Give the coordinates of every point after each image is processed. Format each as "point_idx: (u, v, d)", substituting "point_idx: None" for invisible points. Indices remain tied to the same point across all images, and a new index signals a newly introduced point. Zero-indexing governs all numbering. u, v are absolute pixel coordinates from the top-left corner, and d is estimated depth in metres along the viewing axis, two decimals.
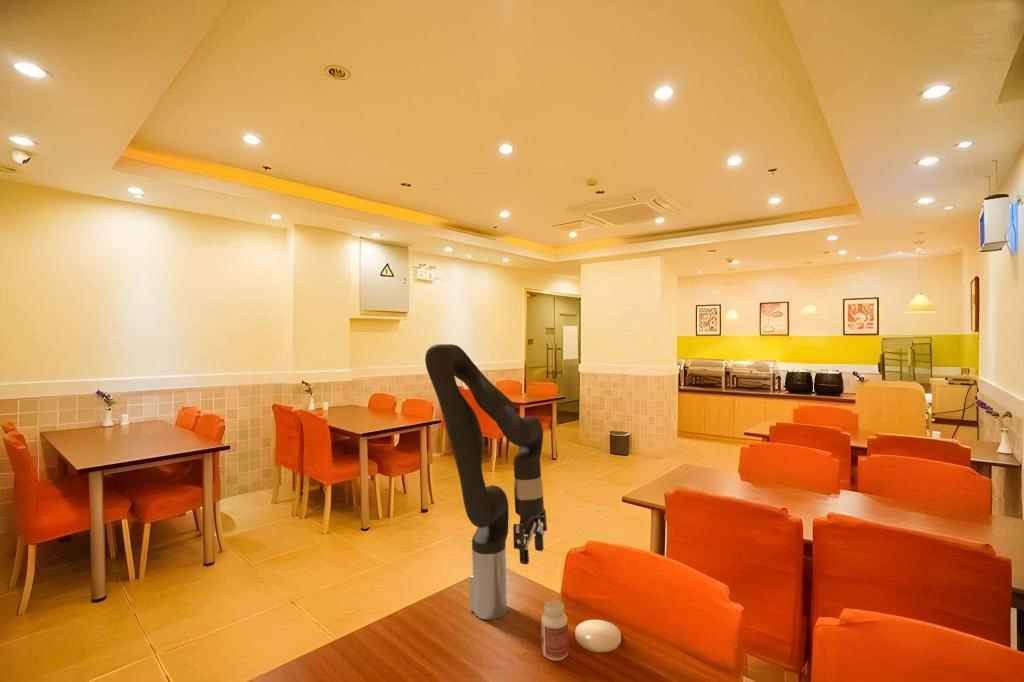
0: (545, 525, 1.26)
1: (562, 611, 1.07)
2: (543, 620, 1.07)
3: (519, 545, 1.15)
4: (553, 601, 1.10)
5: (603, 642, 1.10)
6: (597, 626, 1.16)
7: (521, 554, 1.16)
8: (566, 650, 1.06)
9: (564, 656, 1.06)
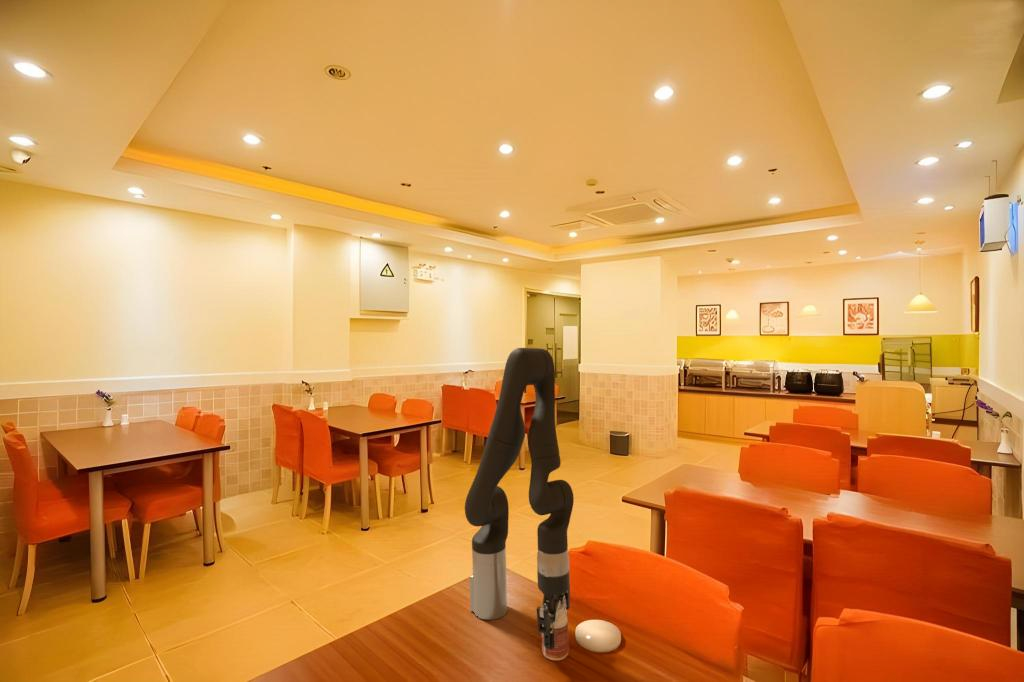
0: (568, 602, 1.13)
1: (562, 611, 1.07)
2: None
3: (544, 629, 1.03)
4: None
5: (603, 642, 1.10)
6: (597, 626, 1.16)
7: (546, 638, 1.05)
8: (566, 650, 1.06)
9: (564, 656, 1.06)
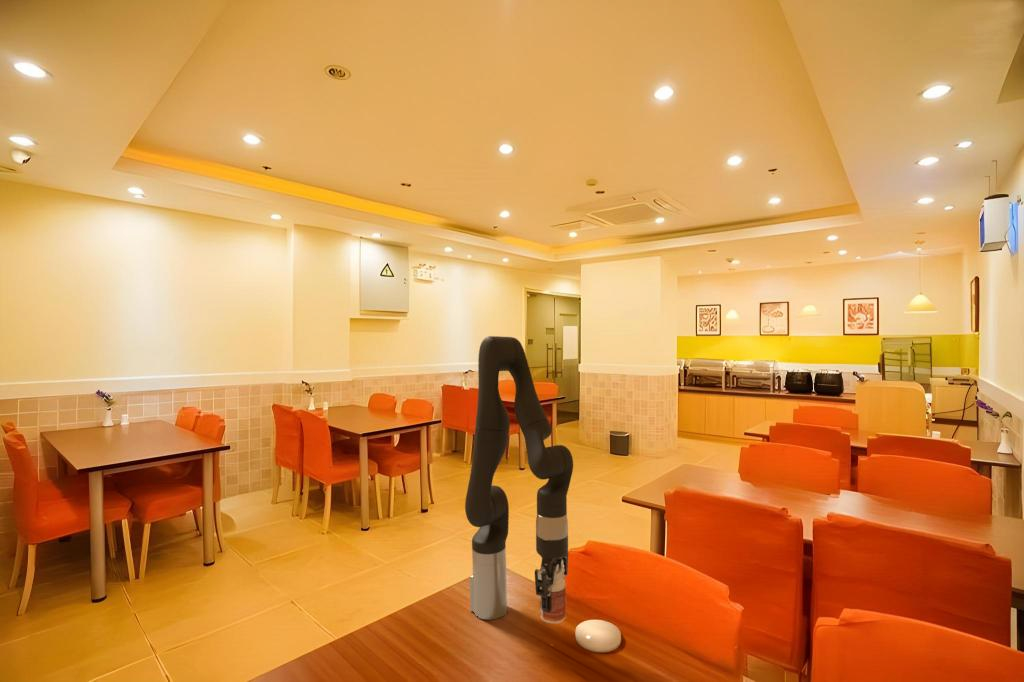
0: (566, 568, 1.13)
1: (560, 575, 1.07)
2: None
3: (542, 592, 1.03)
4: None
5: (603, 642, 1.10)
6: (597, 626, 1.16)
7: (543, 601, 1.05)
8: (563, 614, 1.07)
9: (561, 619, 1.06)
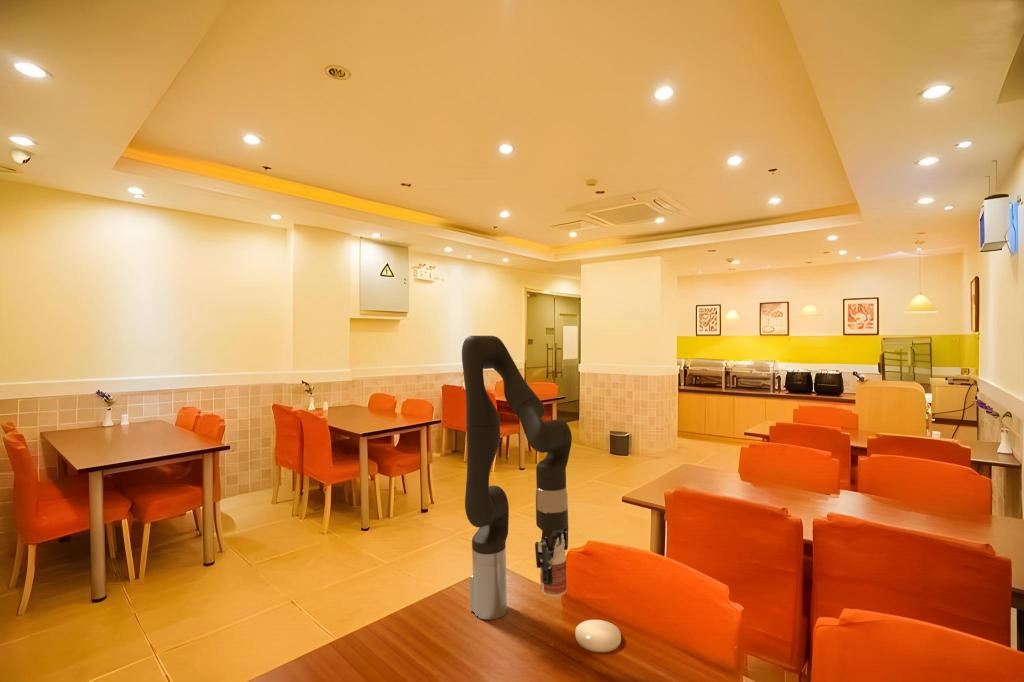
0: (566, 543, 1.13)
1: (560, 548, 1.07)
2: None
3: (543, 564, 1.04)
4: None
5: (603, 642, 1.10)
6: (597, 626, 1.16)
7: (544, 574, 1.05)
8: (564, 587, 1.07)
9: (562, 592, 1.06)
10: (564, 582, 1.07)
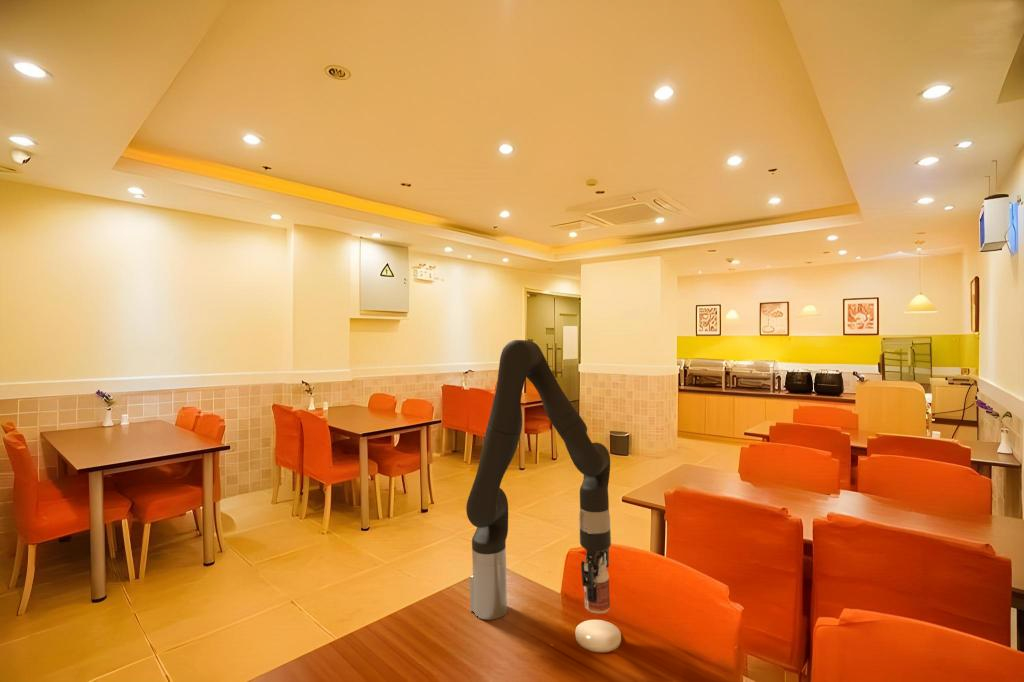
0: (607, 561, 1.18)
1: (604, 567, 1.12)
2: None
3: (588, 583, 1.09)
4: None
5: (603, 642, 1.10)
6: (597, 626, 1.16)
7: (589, 591, 1.10)
8: (608, 604, 1.12)
9: (606, 609, 1.11)
10: (608, 599, 1.12)
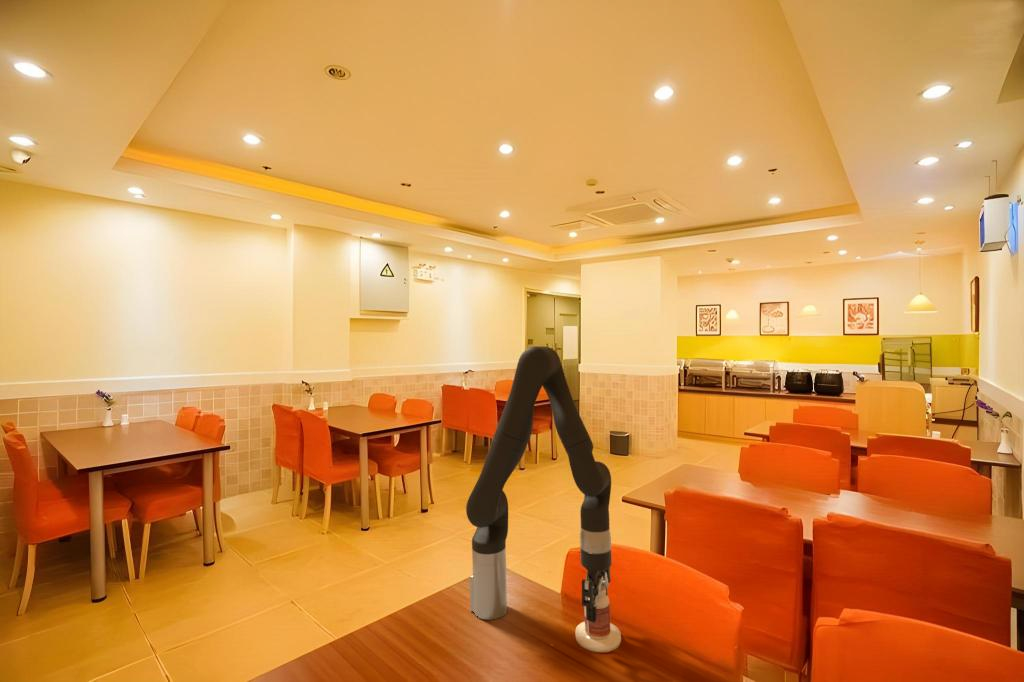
0: (609, 576, 1.19)
1: (604, 592, 1.12)
2: None
3: (588, 603, 1.08)
4: None
5: (603, 642, 1.10)
6: None
7: (589, 611, 1.09)
8: (608, 629, 1.12)
9: (607, 635, 1.11)
10: (608, 625, 1.12)
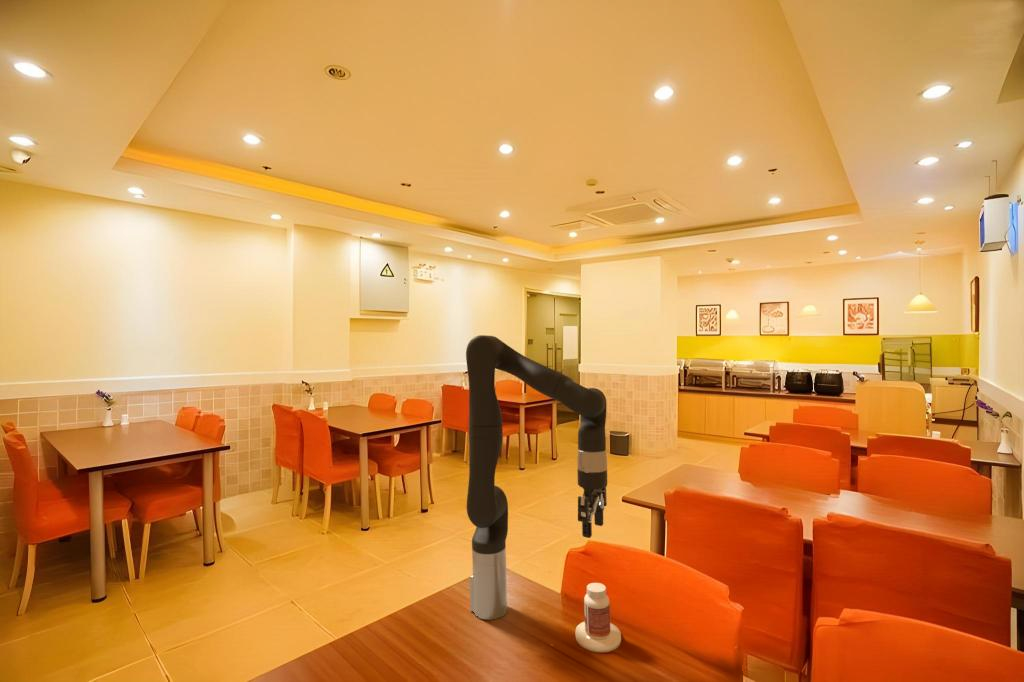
0: (605, 500, 1.23)
1: (604, 592, 1.12)
2: (586, 601, 1.13)
3: (583, 518, 1.12)
4: (595, 583, 1.16)
5: (603, 642, 1.10)
6: None
7: (584, 527, 1.13)
8: (608, 629, 1.12)
9: (607, 635, 1.11)
10: (608, 625, 1.12)
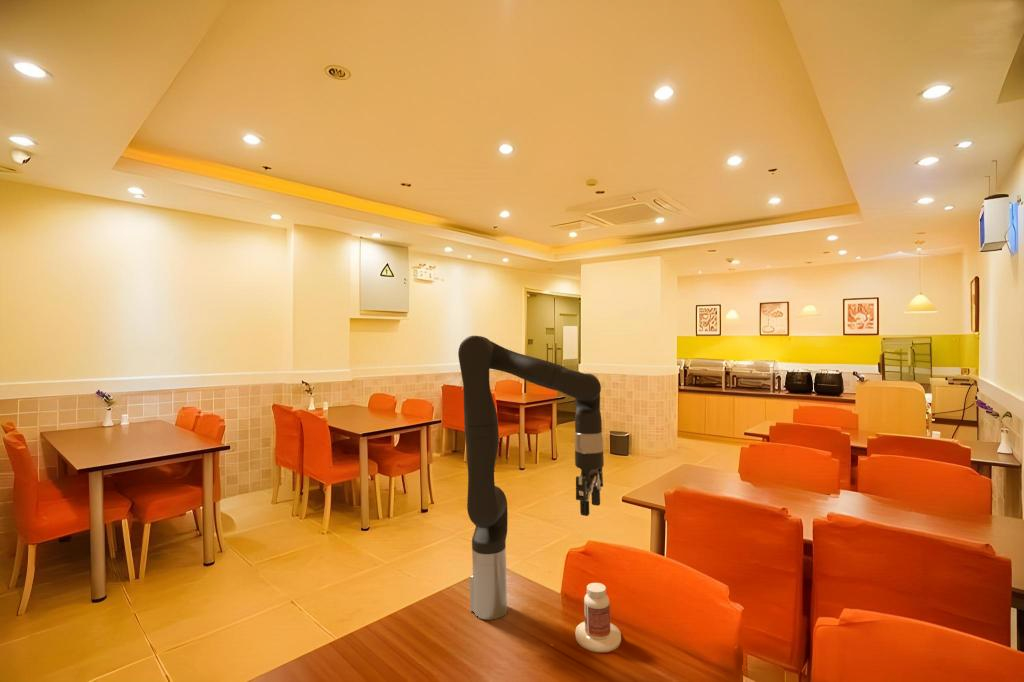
0: (602, 481, 1.28)
1: (604, 592, 1.12)
2: (586, 601, 1.13)
3: (581, 496, 1.17)
4: (595, 583, 1.16)
5: (603, 642, 1.10)
6: None
7: (582, 506, 1.19)
8: (608, 629, 1.12)
9: (607, 635, 1.11)
10: (608, 625, 1.12)
